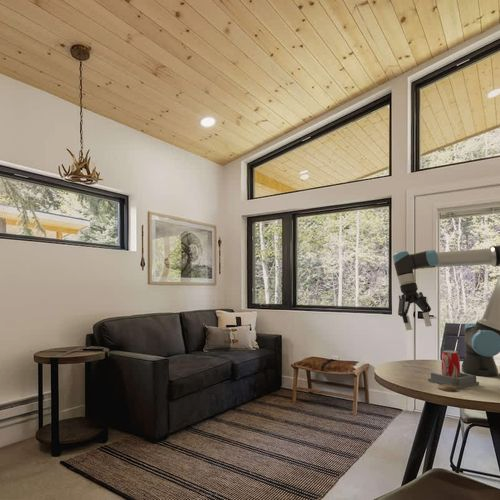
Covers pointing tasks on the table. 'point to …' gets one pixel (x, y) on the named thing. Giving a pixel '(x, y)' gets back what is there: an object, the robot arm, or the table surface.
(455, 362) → the soda can
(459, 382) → the dock
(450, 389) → the walnut coaster
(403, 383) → the table surface
